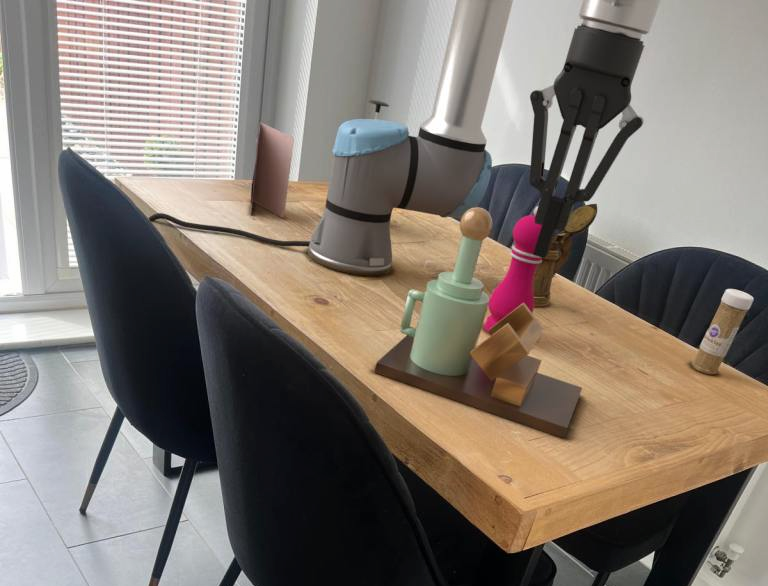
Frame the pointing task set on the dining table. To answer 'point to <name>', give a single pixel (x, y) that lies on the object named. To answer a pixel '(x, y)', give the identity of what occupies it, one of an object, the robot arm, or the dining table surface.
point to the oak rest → (511, 355)
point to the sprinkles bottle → (722, 331)
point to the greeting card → (272, 169)
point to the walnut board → (487, 391)
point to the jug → (451, 306)
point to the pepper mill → (517, 273)
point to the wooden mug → (549, 264)
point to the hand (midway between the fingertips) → (540, 254)
